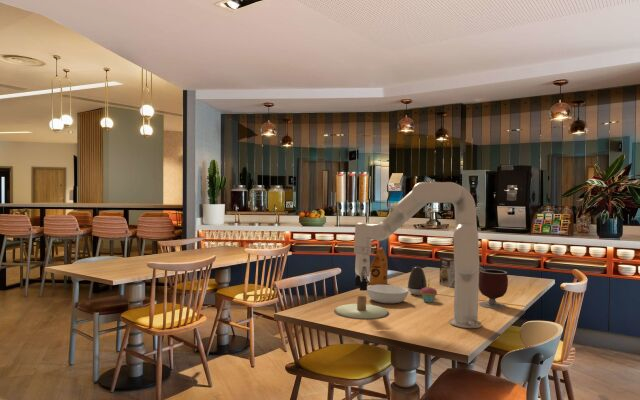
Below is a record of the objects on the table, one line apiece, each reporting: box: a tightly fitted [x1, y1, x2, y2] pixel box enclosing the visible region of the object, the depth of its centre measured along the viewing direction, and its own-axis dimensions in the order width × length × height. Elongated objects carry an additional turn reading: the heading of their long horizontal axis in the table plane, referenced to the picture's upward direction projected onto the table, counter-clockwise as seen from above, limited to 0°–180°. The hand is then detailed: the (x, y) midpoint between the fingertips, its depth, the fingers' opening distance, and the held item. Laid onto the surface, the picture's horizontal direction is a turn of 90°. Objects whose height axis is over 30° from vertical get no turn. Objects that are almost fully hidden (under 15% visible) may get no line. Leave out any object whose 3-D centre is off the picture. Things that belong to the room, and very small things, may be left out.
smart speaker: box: [407, 266, 428, 296], centre depth 253 cm, size 10×10×15 cm
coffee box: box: [438, 257, 455, 288], centre depth 280 cm, size 9×6×16 cm
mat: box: [333, 308, 390, 321], centre depth 208 cm, size 25×25×1 cm
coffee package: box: [369, 247, 389, 286], centre depth 278 cm, size 10×12×22 cm
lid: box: [335, 295, 388, 320], centre depth 208 cm, size 23×23×7 cm
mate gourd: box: [478, 265, 509, 310], centre depth 229 cm, size 16×14×20 cm
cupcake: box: [420, 279, 438, 303], centre depth 236 cm, size 9×8×12 cm
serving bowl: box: [366, 284, 409, 304], centre depth 232 cm, size 21×21×7 cm
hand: (360, 288), depth 208 cm, fingers open, 9 cm apart
